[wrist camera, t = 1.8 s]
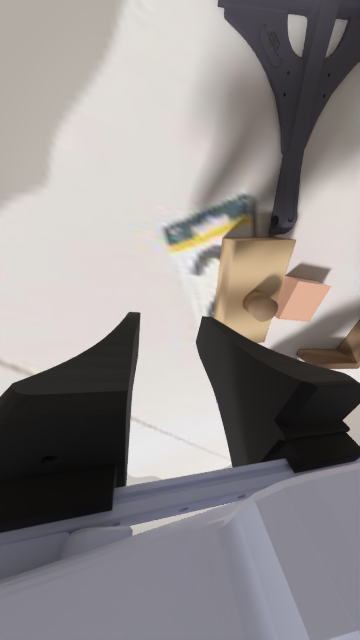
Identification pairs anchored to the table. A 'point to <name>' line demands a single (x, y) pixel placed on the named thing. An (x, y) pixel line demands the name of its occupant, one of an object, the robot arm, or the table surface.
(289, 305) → the tile
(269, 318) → the wooden box with knob
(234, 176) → the table surface
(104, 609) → the robot arm
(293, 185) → the bracket
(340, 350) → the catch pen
